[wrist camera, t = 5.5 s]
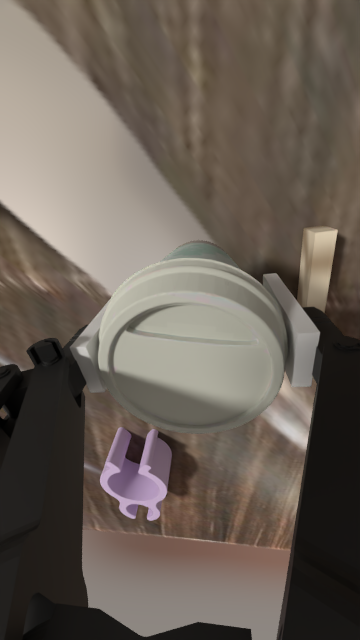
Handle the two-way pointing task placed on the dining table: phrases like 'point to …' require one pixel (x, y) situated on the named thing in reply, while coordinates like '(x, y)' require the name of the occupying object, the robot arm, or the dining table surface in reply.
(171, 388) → the coffee cup
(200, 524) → the dining table surface
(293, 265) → the dining table surface
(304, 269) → the u rest
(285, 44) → the dining table surface
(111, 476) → the clip
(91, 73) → the dining table surface
